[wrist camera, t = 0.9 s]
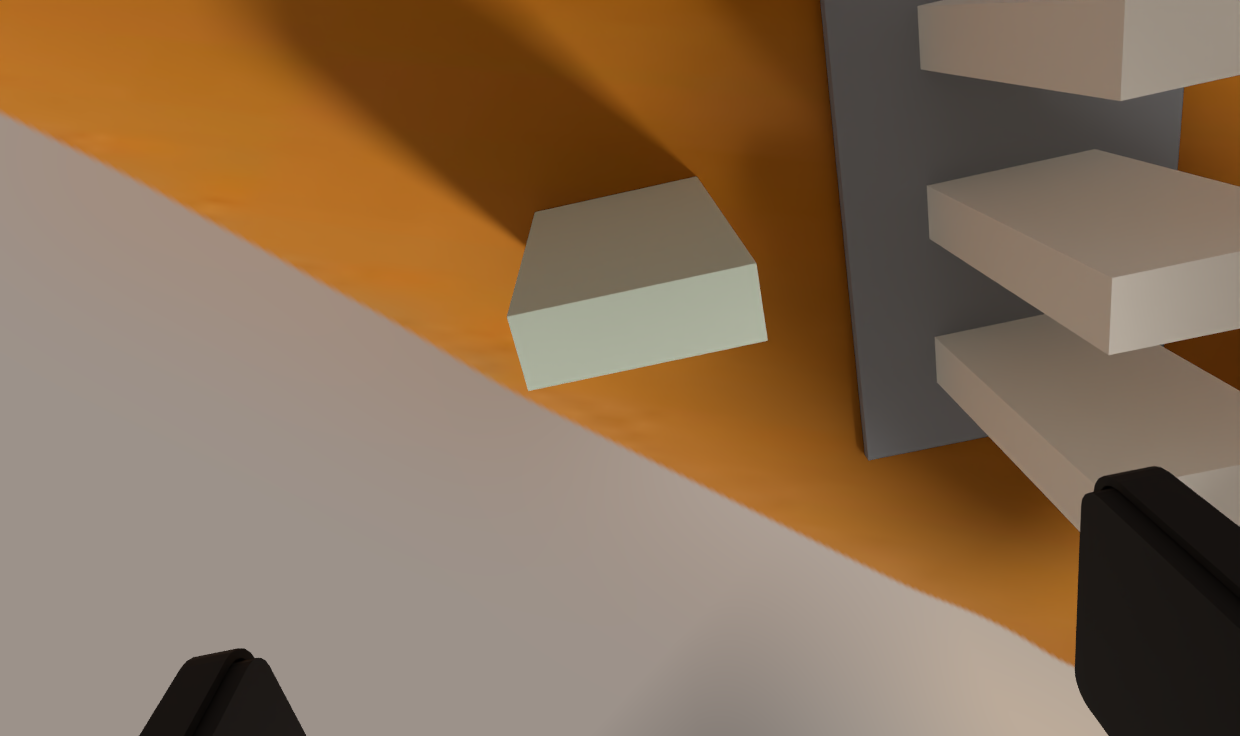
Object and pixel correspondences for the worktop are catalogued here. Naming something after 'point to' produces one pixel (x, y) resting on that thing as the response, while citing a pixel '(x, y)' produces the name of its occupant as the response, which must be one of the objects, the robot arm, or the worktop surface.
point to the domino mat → (898, 208)
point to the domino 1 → (632, 285)
